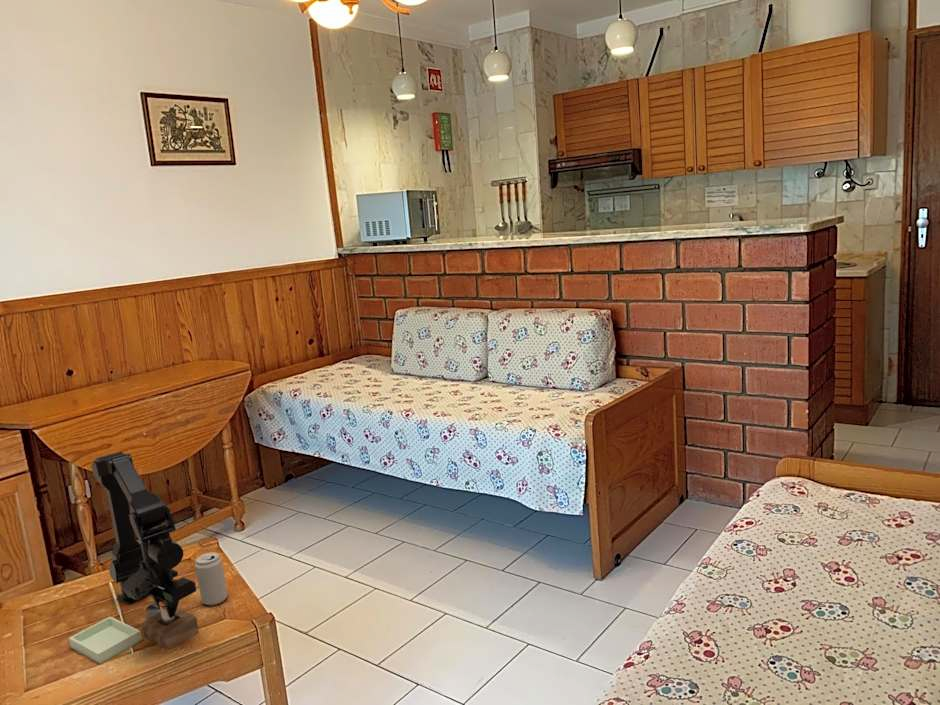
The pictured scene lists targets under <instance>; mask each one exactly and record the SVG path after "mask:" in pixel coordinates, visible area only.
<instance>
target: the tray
mask: <svg viewBox="0 0 940 705" xmlns="http://www.w3.org/2000/svg"><path fill="white" fill-rule="evenodd" d="M142 641H143V638H142V633H141V630H140V629H137V628H135V627H133V626H131V625H129V624H127V623H125V622H123V621H121V620H119V619H117V618H114V617H112V616H109V617H107V618H105V619H102V620H101V621H98V622H97V623H95V624H93V625H91V626H89V627H87V628H85V629H83V630H81V631H79V632H78V633H76V634H74V635H71V636H69V637H68V642H69V645H70V646H69V647H70V648H71V649H72V650H74V651H76V652H78V653H80V654H81V655H83V656H85V657H86V658H88V659H90V660H91V661H94V662H96V663H97V664H98V665H102V664H103V663H105V662H107V661H109V660H110V659H112V658H114V657H116V656H117V655H119V654H120V653H123V652H124V651H127V650H128V649H130V648H132V647H133V646H135V645H137V644H138V643H140V642H142Z"/></svg>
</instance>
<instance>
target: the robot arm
mask: <svg viewBox="0 0 940 705" xmlns="http://www.w3.org/2000/svg"><path fill="white" fill-rule="evenodd" d="M91 471H92V474H93V476H94V478H95V479H96V481H97V482H98V483H99V484H100V485H101V486H102V487H103V488H105V492H106V497H107V501H108V508H109V511H110V513H109V514H110V517H111V522H112V526H113V531H114V539H115V543H114V545H113V548H112V550H111V559H112V560H111V561H110V565H109V569H108V572H109V575H110V578H111V580H113V582H115V583H116V584H119V586H120V587H119V588H120V591H121V594H119V595H117V596H116V599H117V600H118V601H121V602H123V603H125V604H128V605H131V604H134V603H136V602H138V601H140V600H141V599H143V598H145V597H147V596H149V595H150V596H151V598H152V600H153V603H156V605H157V607H158V609H159V610H160V606H159V600H160V599H162V600H163V601H164V604H165V607H166V610H167V613H168V615H169V618H172V617H174V615H175V612H176V609H178V605H179V602H180V601H181V600H183V599H184V598H186V597H188V596H190V595H192V594H194V593H196V592H197V583H196V582H195V581H194V580H192V579H188V578H186V577H182V576H181V577H180V578H177V579H174V578H176V577H177V576H179V574H178V571H177V570H174V568H175V567H177V566H178V565H179V564H180V563H181V561H182V560H183V558H184V549H183V547H182V546H181V545H180V544H178V542H176V541H175V540H173V539H172V537H171V535H170V533H171V532H174V531H177V528H176V520H175V518H174V516H173V514H172V512H171V510H170V507H169V506H168V505H167V504H166V502H163V501H162V498H160V496H159V495H158V494H156V493H153V492H150V490H148V488H147V486H146V484H145V483H144V481H143V479H142V478H141V476H140V474H139V473H138V471H137V469H136V467H135V465H134V460H133V458H132V454H131V453H124V452H123V451H118V452H113V453H109V454H107V455H103V456H98V457H95V459H94V461H93V463H91ZM165 523H166V524H165ZM136 537H137V539H138V540H139V541H138V540H136ZM160 612H161V611H160Z"/></svg>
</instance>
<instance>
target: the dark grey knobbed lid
mask: <svg viewBox="0 0 940 705" xmlns="http://www.w3.org/2000/svg"><path fill="white" fill-rule="evenodd" d="M145 613H146V620H147V619H149V618H150V617H152V616H154V615H156V614H158V613H160V610H159V609H158V607H157V605H156V603H155V602H153V603H151V604H150V605H148V606H147V607H146V609H145Z"/></svg>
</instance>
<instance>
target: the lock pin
mask: <svg viewBox="0 0 940 705" xmlns="http://www.w3.org/2000/svg"><path fill="white" fill-rule="evenodd" d="M159 606H160V611H161V616H162V622H163V625H165V626H167V625H169V624H171V623H172V622H174V621H176V620H175V615H174V617H172V618H169V615H168V613H167V610H166V607H165V604H164V601H163V600H162V599H160V600H159Z"/></svg>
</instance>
